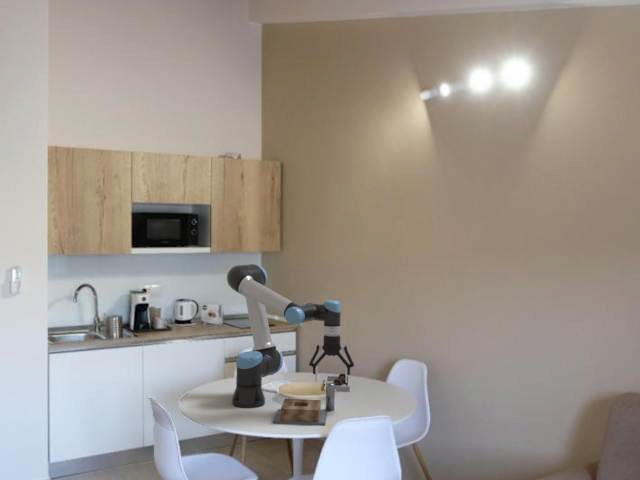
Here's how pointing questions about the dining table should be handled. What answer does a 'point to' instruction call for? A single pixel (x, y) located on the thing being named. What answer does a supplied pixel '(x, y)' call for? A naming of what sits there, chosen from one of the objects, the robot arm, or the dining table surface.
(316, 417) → the socket
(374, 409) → the dining table surface
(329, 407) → the peg
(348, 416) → the dining table surface
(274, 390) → the calculator
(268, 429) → the dining table surface
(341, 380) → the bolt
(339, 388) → the parts tray
